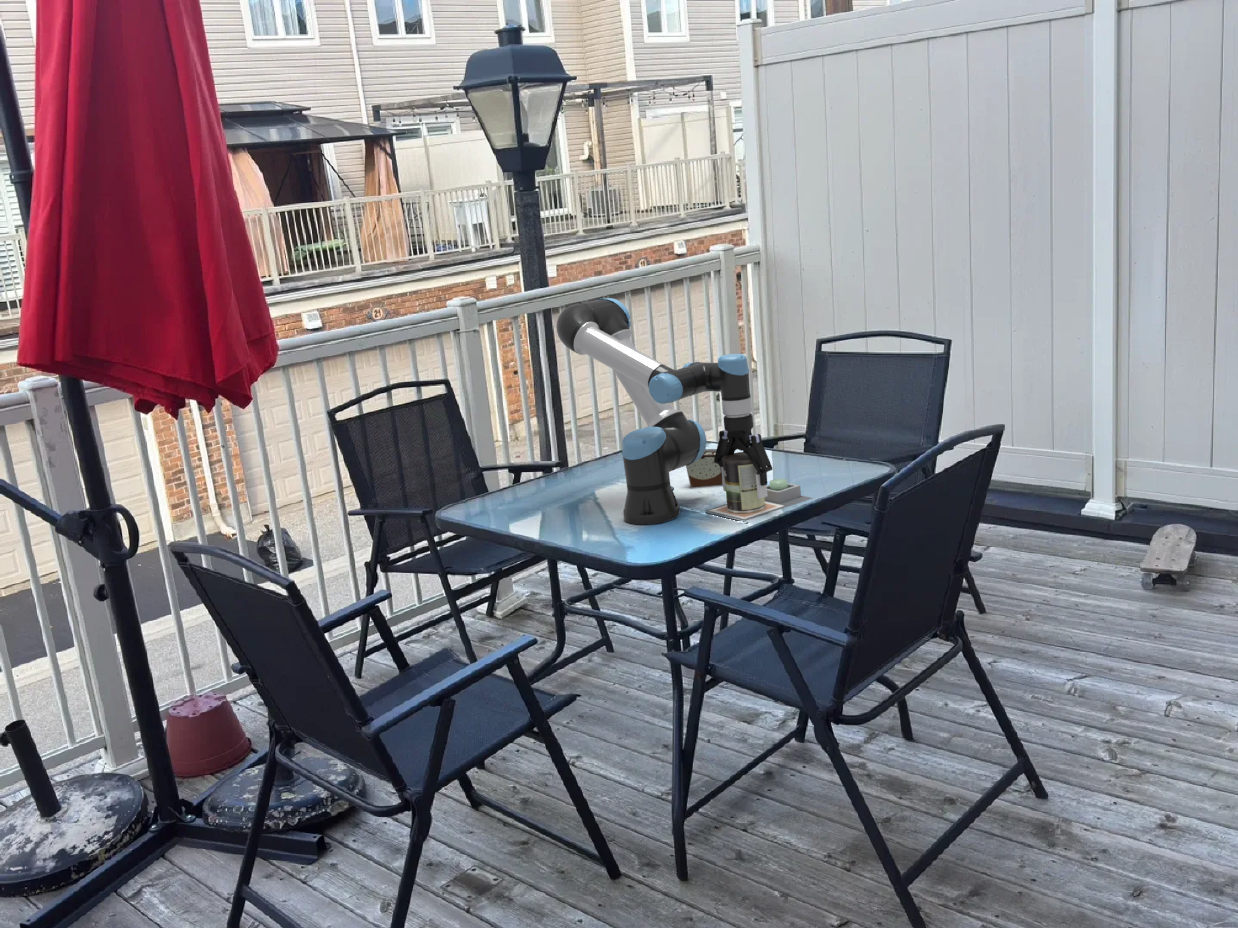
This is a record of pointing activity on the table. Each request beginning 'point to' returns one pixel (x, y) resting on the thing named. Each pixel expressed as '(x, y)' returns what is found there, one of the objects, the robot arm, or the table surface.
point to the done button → (778, 484)
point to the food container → (705, 471)
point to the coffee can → (741, 484)
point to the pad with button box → (766, 503)
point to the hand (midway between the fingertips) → (745, 493)
